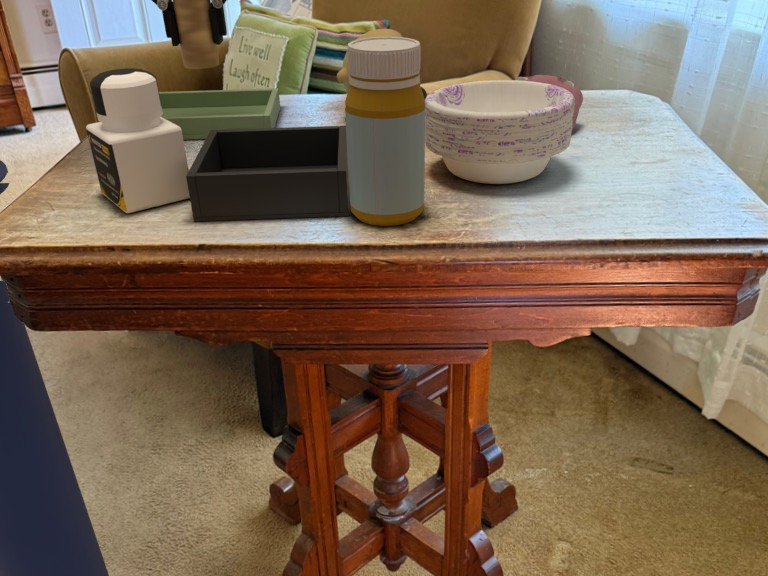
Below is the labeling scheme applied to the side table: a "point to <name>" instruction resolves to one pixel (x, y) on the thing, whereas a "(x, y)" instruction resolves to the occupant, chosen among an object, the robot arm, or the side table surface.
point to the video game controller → (563, 84)
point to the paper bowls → (498, 128)
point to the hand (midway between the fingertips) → (198, 41)
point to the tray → (220, 110)
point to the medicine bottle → (135, 142)
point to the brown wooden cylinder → (196, 34)
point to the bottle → (385, 130)
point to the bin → (270, 174)
